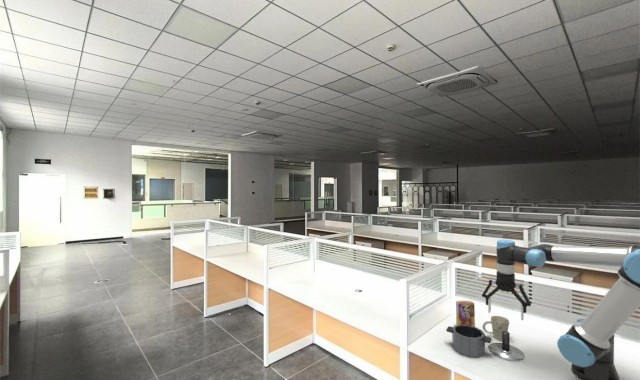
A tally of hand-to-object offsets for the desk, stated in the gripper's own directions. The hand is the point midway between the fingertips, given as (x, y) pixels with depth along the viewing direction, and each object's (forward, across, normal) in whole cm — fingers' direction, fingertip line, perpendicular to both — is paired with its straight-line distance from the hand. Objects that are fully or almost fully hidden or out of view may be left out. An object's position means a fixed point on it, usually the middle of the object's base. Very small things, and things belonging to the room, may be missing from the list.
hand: (505, 315), depth 145 cm
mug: (+18, +6, -13) cm, 23 cm away
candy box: (+18, +21, -14) cm, 31 cm away
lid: (+18, 0, 0) cm, 18 cm away
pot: (+18, +15, +8) cm, 25 cm away
